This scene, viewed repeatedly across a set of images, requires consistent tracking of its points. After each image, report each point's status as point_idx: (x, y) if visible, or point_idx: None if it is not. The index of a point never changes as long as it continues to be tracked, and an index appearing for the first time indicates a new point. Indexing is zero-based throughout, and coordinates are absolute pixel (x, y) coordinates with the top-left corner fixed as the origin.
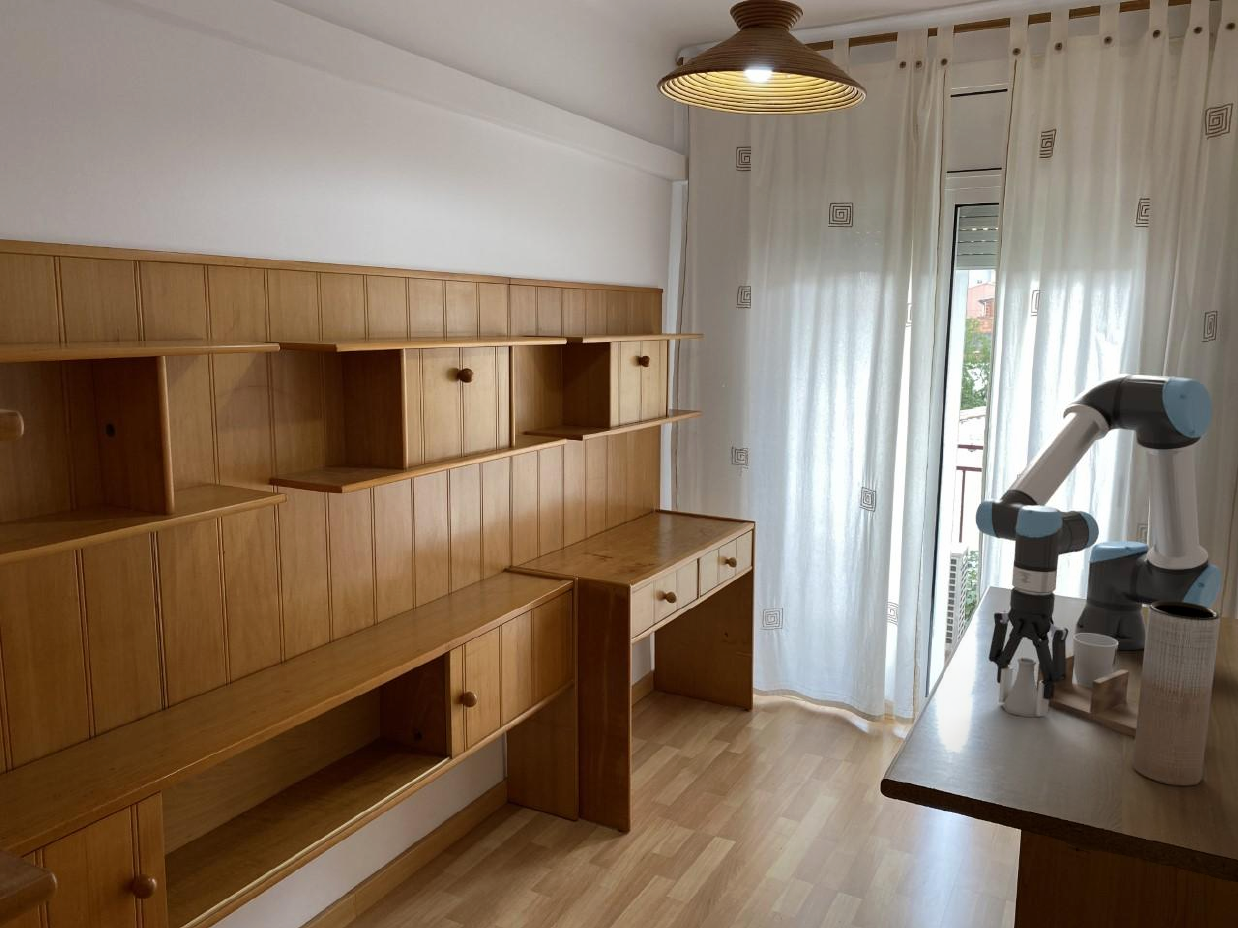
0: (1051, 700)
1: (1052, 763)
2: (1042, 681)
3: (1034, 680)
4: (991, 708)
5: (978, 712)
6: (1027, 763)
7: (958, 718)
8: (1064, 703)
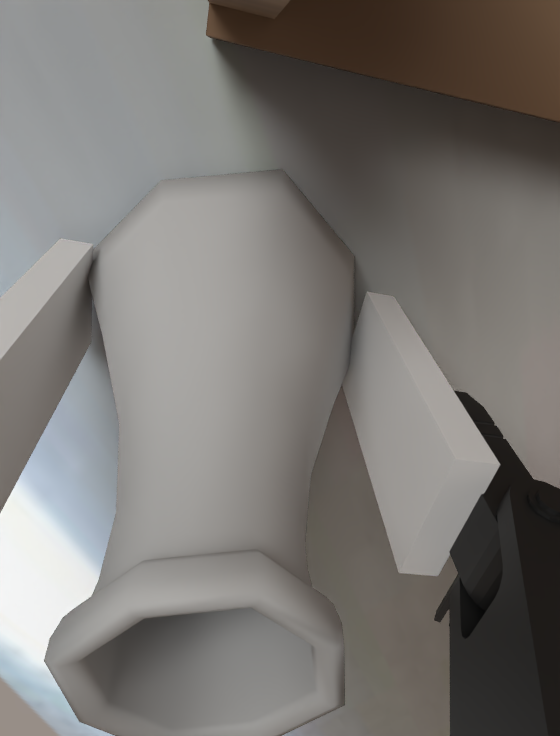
0: (380, 76)
1: None
2: (444, 610)
3: (307, 431)
4: (78, 405)
5: (69, 494)
6: (422, 698)
7: (58, 595)
8: (499, 83)
